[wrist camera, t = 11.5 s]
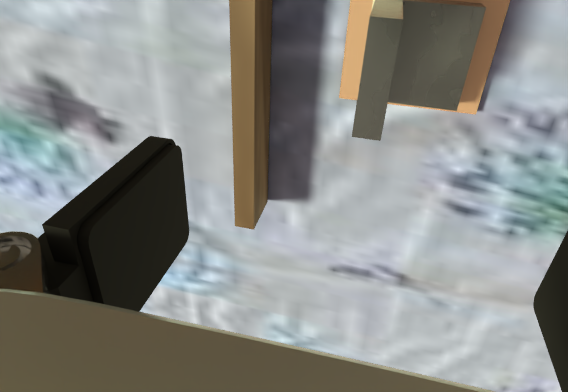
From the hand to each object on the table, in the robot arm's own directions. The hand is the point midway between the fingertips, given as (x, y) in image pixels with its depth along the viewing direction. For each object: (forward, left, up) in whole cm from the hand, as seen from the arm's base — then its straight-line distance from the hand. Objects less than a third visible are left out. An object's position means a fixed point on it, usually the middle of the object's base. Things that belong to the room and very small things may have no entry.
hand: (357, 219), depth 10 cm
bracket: (-2, 0, -20) cm, 20 cm away
